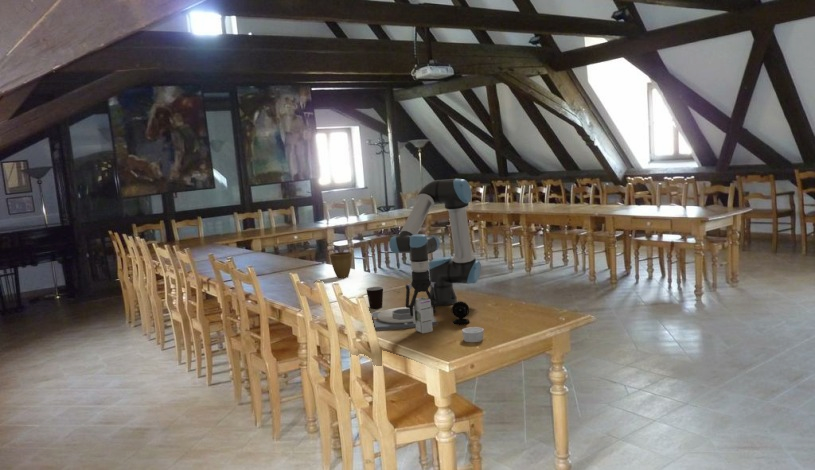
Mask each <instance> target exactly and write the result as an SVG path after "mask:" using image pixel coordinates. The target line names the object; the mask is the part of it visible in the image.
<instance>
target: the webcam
mask: <svg viewBox="0 0 815 470" xmlns="http://www.w3.org/2000/svg"><path fill="white" fill-rule="evenodd" d="M451 311H452V315H453V316H454V317H455V319H453V321H452V324H453V325H455V326H456V325H457V326H466V325H469V324H470V323H471V322H470V319H468V318H466V317H467V316H468V315H469V314H470V307H469V305H468V304H467V303H466V301H465V302H464V301H457V302H456V303H455V304H452V307H451Z"/></svg>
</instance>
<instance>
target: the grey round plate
mask: <svg viewBox="0 0 815 470" xmlns="http://www.w3.org/2000/svg"><path fill="white" fill-rule="evenodd" d="M413 308H414V306H413ZM379 312H380V313H378V320H380V321H382V322H386V323H409V322H413V316H411V315H410V308H406V306H404V307H394V308H389V309H385V310H382V311H379Z"/></svg>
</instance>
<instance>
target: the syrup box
mask: <svg viewBox="0 0 815 470" xmlns="http://www.w3.org/2000/svg"><path fill="white" fill-rule="evenodd" d="M431 306H432V305H431V301H430V299H428V297H424V296H423V297H416V300H415V303H414V306H413V307H414V309H415V322H416V324H415V327H414V329H415V332H418V333H420V334H427V333H431V332H432V333H433V326H432V315H431Z"/></svg>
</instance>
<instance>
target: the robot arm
mask: <svg viewBox="0 0 815 470" xmlns="http://www.w3.org/2000/svg"><path fill="white" fill-rule="evenodd" d="M471 201H472V189H471V186H470V183H469V182H468V181H467V179H462V178H451V179H450V178H449V179H436V180H433V181H430V182H428V183H427V184H426V185H424V186H423V187H422V188H421V189H420V191H419V192H418V194H417V195H416V197H415V204H414V205H413V207H412V209H411V211H410V212H409V215H408V217H407V219H406V220H405V223H404V224H403V227H402V228H401V231H400V232H399V234H398V235H394V236H392V237H390V238H389V239H390V240H389V243H388V245H389V249H390V251H391V253H395V254H396V253H399V254H410V268H411V283H409V284H405V285H404V286H405V290H406V291H405V292H406V293H405V306H404V307H406V308H410V315H411V316H413V323H414V324H416V322H415V309H414V308H413V307H414V303H415V300H416V298H418V297H417V296H418V294H419V293H424V292H425V293H426V296H427V298H428V299H430V301H431V315H432V322H434V317H435V316H434V315H435V314H436V311H437V310H436V307H437V306H440V307H441V306H443V307H444V306H449V305H454V304H455V303H456V302H458V297H457V294H456V291H455V289H454V284H463V285H464V284H467V285H472V284H476V283H477V282H478V280H479V279H480V276H481V271H482V265H481V262H480V261H479V260H476V259H477V258H476V254H473V252H472V245H471V238H470V237H471V236H470V230H469V222H468V215H467V208H468V207H469V203H471ZM439 204H441V205H442V204H443V205H444V208H445V210H447V211H448V216H449V223H450V230H451V237H452V245H453V246H452V247H453V250H454V252H453V253H454V256H453V257H450V256H444V257H439V258H435V259H431V260H430V261H429V254H432V253H435V252H436V251H437V250H438V249H439V248H440V245H441V244H440V243H441V241H440V239H439V237H437V236H436V235H433V234H430V235H426V234H424V233H423V234H422V233H419V232H420V230H421V228H422V226H423V224H424V222H425V220H426V218H427V216H428V215H429V212H430V210H432V209H433V208H434V206H435V205H439ZM412 288H413V289H414V292H413V294H412V298H411V299H410V292H411V289H412ZM429 288H430V289H429ZM410 300H411V301H410ZM433 316H434V317H433Z"/></svg>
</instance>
